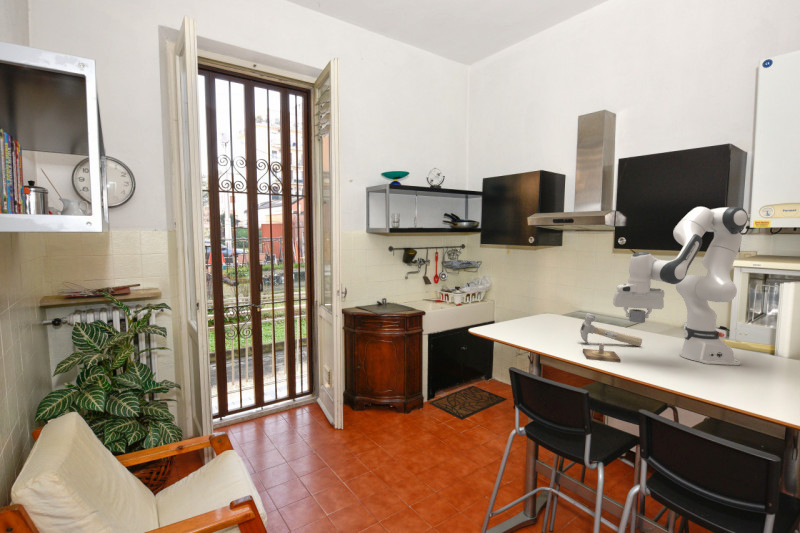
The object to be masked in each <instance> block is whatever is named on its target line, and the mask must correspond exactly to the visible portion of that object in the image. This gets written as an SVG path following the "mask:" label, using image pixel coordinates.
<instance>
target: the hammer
mask: <svg viewBox="0 0 800 533" xmlns="http://www.w3.org/2000/svg"><path fill="white" fill-rule="evenodd" d="M595 320H596V315H595V314H593V313H590V312H586V313H585V315H584V321H583V322H582V324H581V326H580V327H581V328H580V329H579V330H580V331H579V332H580V337H581V339H582V340H583V342H585V343H586V344H587V345H590V344H589V340H588V337H589V334H595V335H599V336H602V337H605V338H608V339H610V340H615V341H618V342H621V343H625V344H628V345H631V346H635V347H641V346H642V344H643V339H642V337H640V336H635V335H628V334H625V333H620V332H618V331H614V330H610V329H606V328H602V327H598V326H595V325H593V324H592V322H595Z"/></svg>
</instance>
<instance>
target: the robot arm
mask: <svg viewBox="0 0 800 533" xmlns="http://www.w3.org/2000/svg"><path fill="white" fill-rule="evenodd" d="M748 219H749V216H748V213H747V211H746V209H745V208H742V207H739V206H728V207H727V206H726V207H717V208H711V209H710V208H708V207H705V206H696V207H694V208H692V209H691V210H690V211H689V212H687V214H686V215H685V216H684V217H683V218H681V220H680V221H679V222H678V223H677V225H675V227H674V228H673V233H672V234H673V238H674V240H675V241H676V242H677V243H678V244H680V245H681V246H682V248H681V250H680V251H679V253H678V254H677V256H676V258H674V259H672V260H664V259H659V258H656V257H655V256H653V255H652V253H651V252H648V251H647V252H646V251H641V252H640V251H639V252H635V253H633V254H632V255H631V257H630V260H629V266H628V273H629V277H628V279H627V282H626V283H623V284H621V283H620V284H619V285H617V286H616V290H615V292H614V294H613V298H612V305H613V306H614V307H615V308H623V310H624V312H625V317H626V318H629V317H630V313H629V311H628V310H629V309H630V308H631V309H646V313H645V319H649V318H650V316H649V315H650V314H651V313H652V310H662V309H664V307H665V306H664V305H665V303H664V302H665V301H664V297H665V291H664V290H663V289H662V288H656V287H655V288H654V287H652V288H651V285H652V284H651V283H652V282H651V281H656V282H657V281H658V282H664V283H666V284H671V285H675V290H676V291H677V293H678V294H679V295H680V296H681V298H683V301H684V303H685V306H686V311H687V312H686V313H687V314H686V326H685V329H684V335H683V336H684V340H683V345H682V348H681V351H680V353H679V356H681V357H682V358H685V359H688V360H692V361H695V362H699V363H702V364H707V365H726V366H727V365H728V366H730V365H731V366H740V365H741V362H740V361H739V360H738V359H736V358H735V356H734V350H733V348H732V347H731V346H729V345H728V344H726V343H725V341H723V340H721V339H720V338H724V337H725V334H724V332H720V331H718V330H716V328H717V318H718V317H717V316H718V314H717V312H716V311H715V310H714V309H712V308H711V307H710V305H709V303H708V302H712V303H713V302H714V303H729V302H731V301H733V300H734V299H735V297H736V296H737V292H738V290H737V286H736V284H735V283H734V282H733V281H732V278H731V269H732V267H733V264H734V261H735V260H736V257H737V255H738V253H739V251H740V248H741V244H742V237H743V235H742V234H741V233H742V231H743V230H744V229H745V227H746V226H747V223H748ZM705 233H713V239H712V240H711V242H710V244H709V245H708V248H707V249H706V252H705V253H704V256H703V258H702V262H701V263H702V266H703V267H704V268H705V269H707V273H706V275H705V276H704V275H697V274H688V270H689V268H690V266H691V264H692V263H693V261H694V260H695V258H696V257H697V255H698V254H699V251H700V249H701V247H702V244H703V236H704V234H705ZM687 274H688V275H687Z"/></svg>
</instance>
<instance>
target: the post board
mask: <svg viewBox="0 0 800 533" xmlns="http://www.w3.org/2000/svg"><path fill="white" fill-rule="evenodd" d="M604 348H605V345H604V343H602V342H600V343H599V345H598V349H594V348H593V349H591V348H582V353H583V354H584V356H585V358H586V360H594V361H603V362H614V363H621V361H622V359H621V357H620V356H619V355H618V354H617V353H616V352H615V351H614V350H613V351H612V350H604Z"/></svg>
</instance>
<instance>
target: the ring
mask: <svg viewBox="0 0 800 533" xmlns="http://www.w3.org/2000/svg"><path fill="white" fill-rule="evenodd" d="M628 310H629V311H628V313H630V317H628V321H629V322H632V323H635V324H636V323H641V324H643V323H645V322H646V318H645V314H646V313H647V310H646V311H645V310H644V309H640V308H631V309H630V308H629V309H628Z"/></svg>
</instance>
